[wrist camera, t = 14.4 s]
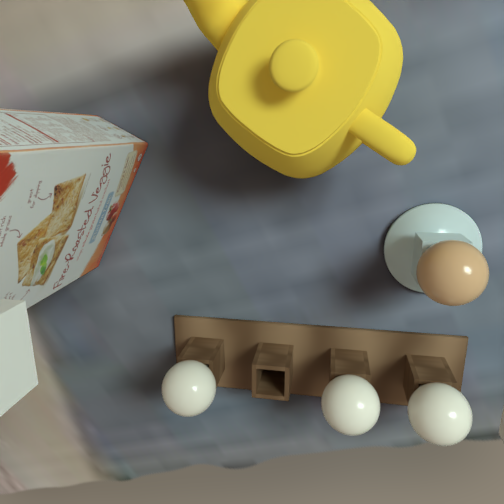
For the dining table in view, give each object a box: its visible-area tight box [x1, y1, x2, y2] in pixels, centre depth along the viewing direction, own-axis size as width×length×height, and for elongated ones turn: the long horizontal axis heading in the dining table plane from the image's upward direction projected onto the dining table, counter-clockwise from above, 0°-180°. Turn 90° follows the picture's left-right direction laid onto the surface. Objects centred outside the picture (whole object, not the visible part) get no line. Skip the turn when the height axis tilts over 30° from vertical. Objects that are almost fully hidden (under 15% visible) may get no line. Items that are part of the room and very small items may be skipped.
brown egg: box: [416, 240, 489, 306], centre depth 31 cm, size 5×5×5 cm
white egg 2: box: [321, 374, 380, 436], centre depth 36 cm, size 5×5×5 cm
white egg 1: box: [162, 360, 216, 417], centre depth 38 cm, size 5×5×5 cm
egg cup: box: [384, 203, 482, 293], centre depth 36 cm, size 8×8×5 cm
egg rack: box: [174, 315, 468, 406], centre depth 41 cm, size 28×8×5 cm, turn 90°
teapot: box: [184, 0, 416, 178], centre depth 30 cm, size 13×20×12 cm
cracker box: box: [0, 109, 148, 308], centre depth 32 cm, size 14×6×21 cm, turn 152°
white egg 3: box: [408, 382, 472, 446], centre depth 35 cm, size 5×5×5 cm
